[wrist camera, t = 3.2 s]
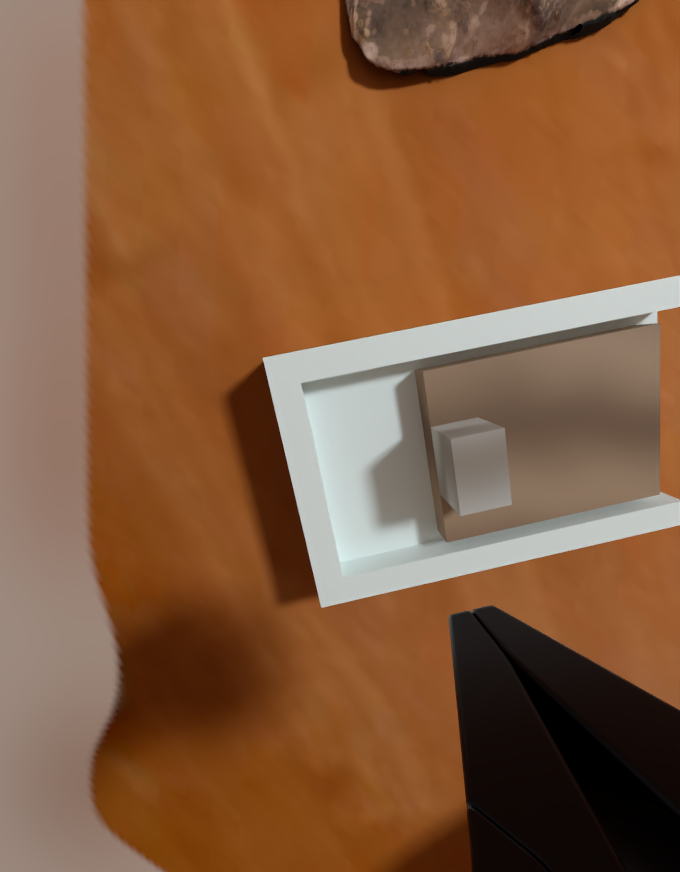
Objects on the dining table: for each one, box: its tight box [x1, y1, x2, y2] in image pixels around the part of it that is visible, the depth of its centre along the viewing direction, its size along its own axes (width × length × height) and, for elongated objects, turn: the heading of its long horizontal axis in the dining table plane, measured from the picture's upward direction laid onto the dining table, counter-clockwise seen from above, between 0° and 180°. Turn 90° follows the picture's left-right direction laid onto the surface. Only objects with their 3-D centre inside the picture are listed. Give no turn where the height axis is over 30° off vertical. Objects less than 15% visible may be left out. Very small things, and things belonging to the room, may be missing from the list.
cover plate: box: [415, 323, 660, 543], centre depth 16 cm, size 8×10×3 cm
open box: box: [263, 276, 680, 608], centre depth 18 cm, size 11×17×3 cm, turn 101°
